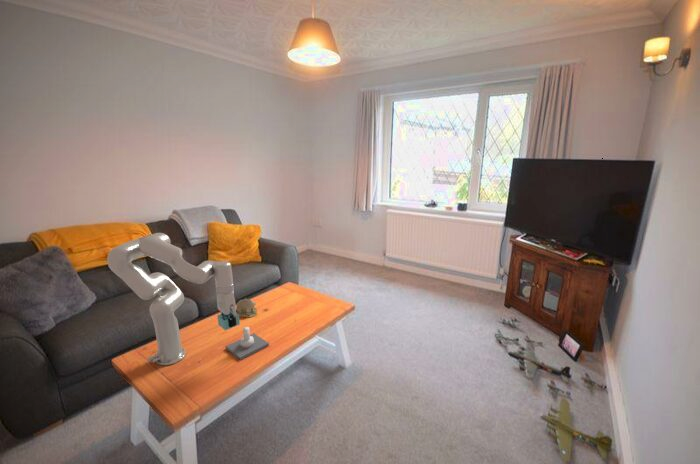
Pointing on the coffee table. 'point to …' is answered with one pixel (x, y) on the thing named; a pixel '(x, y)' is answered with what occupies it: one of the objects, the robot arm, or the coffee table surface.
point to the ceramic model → (246, 308)
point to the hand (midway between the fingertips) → (229, 323)
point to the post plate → (247, 350)
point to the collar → (226, 321)
